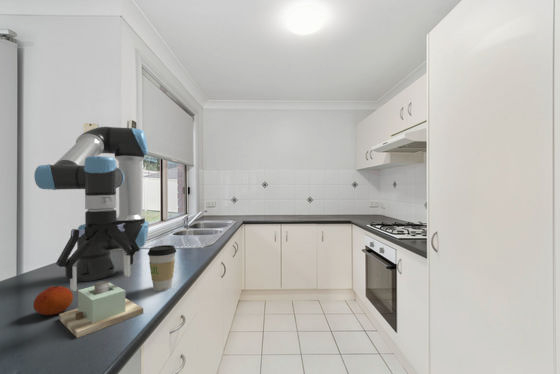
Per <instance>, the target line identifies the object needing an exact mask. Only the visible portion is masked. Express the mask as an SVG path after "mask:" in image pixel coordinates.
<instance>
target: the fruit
mask: <svg viewBox="0 0 560 374" xmlns="http://www.w3.org/2000/svg"><path fill="white" fill-rule="evenodd" d="M73 301H74V295H73V291H72V290H71V289H70V288H68V287H65V286H61V285H52V286H49V287H47V288H46V289H44V290H43V291H41V292H39V294H38V295H36V297H35V299H34V301H33V309H34V311H35V312H36V313H38V314H40V315H43V316H54V315H59V314H61V313H63V312H65V310H67V309H68V308H69V307H70V306H71V305H72V303H73Z"/></svg>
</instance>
